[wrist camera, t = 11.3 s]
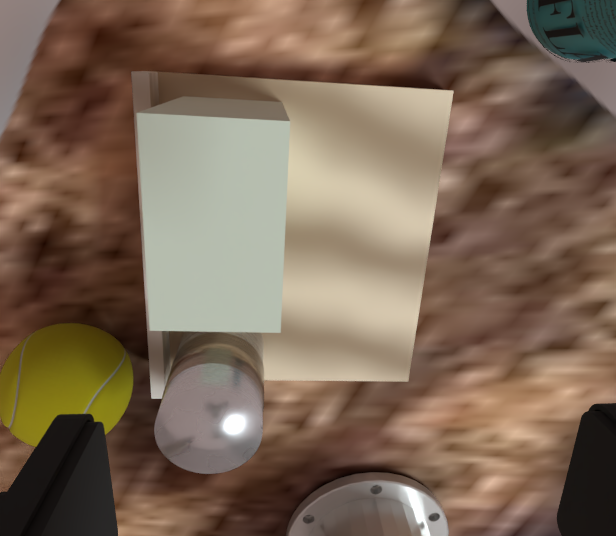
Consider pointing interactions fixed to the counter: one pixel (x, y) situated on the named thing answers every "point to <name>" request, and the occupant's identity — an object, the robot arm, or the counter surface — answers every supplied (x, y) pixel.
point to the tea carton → (214, 213)
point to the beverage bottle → (575, 27)
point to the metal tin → (213, 402)
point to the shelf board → (335, 221)
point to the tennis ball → (64, 379)
